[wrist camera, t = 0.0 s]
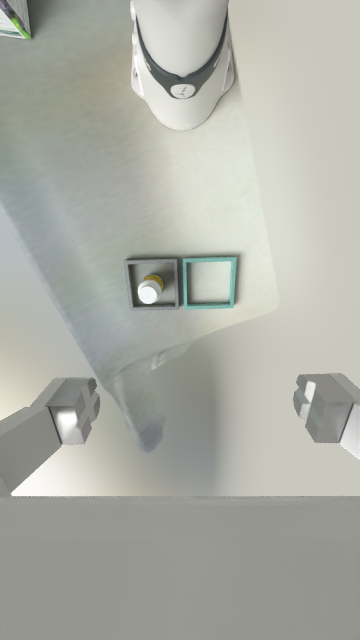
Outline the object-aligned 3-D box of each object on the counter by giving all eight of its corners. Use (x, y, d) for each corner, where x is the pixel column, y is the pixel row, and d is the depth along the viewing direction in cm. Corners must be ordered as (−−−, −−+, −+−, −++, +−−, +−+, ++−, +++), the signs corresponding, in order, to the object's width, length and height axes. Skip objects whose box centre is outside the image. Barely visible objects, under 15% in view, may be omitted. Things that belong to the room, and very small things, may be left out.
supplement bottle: (138, 286, 57) (130, 297, 48) (150, 269, 55) (143, 277, 46) (156, 298, 58) (151, 311, 49) (168, 282, 56) (165, 292, 47)
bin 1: (125, 259, 54) (123, 260, 52) (177, 258, 54) (176, 259, 52) (131, 308, 59) (130, 310, 57) (178, 307, 58) (178, 309, 57)
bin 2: (182, 258, 54) (182, 259, 52) (235, 256, 53) (236, 257, 52) (184, 306, 58) (184, 309, 57) (231, 305, 58) (233, 308, 56)
